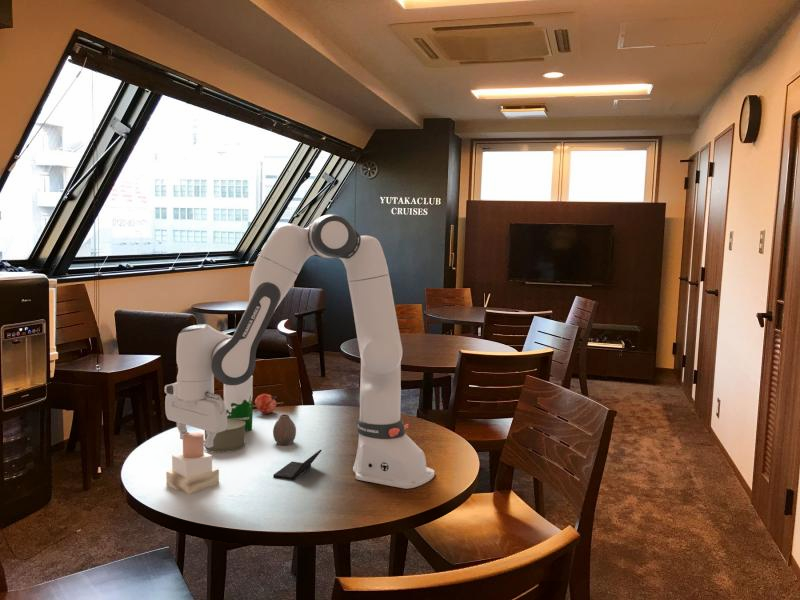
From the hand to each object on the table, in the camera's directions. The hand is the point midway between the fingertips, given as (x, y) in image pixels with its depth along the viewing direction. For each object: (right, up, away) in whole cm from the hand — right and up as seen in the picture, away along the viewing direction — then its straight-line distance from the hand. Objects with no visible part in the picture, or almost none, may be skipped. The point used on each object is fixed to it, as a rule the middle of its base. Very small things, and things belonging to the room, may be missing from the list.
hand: (196, 442), depth 159 cm
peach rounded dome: (-1, -3, 0) cm, 3 cm away
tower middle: (-1, -7, 0) cm, 7 cm away
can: (-1, -8, +30) cm, 31 cm away
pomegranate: (+3, -4, +65) cm, 65 cm away
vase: (+16, -8, +33) cm, 38 cm away
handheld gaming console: (+24, -11, +10) cm, 28 cm away
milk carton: (-1, -6, +47) cm, 47 cm away
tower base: (-1, -11, +1) cm, 11 cm away
